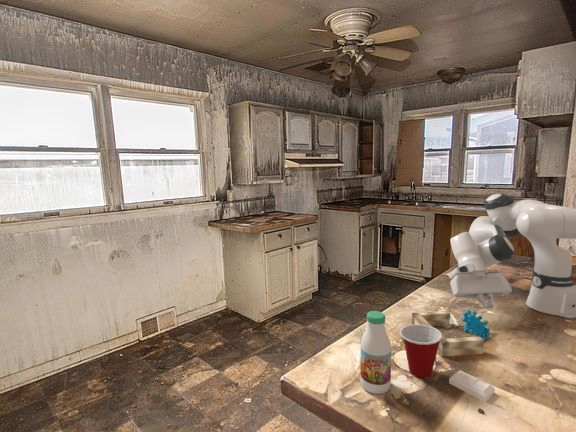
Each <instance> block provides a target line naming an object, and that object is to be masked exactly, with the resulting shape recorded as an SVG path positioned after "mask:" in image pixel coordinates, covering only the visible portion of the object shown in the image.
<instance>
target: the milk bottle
mask: <svg viewBox="0 0 576 432" xmlns="http://www.w3.org/2000/svg"><path fill="white" fill-rule="evenodd" d="M366 323H367V326H366V328H365V331H364V333H363V335H362V338H361V340H360V341H361V342H360V356H359V357H360V361H359V362H360V363H359V364H360V371H359V372H360V374H359V375H360V377H359V378H360V379H359V380H360V385H361V386H362V388H363V389H364V390H365V391H366V392H368V393H370V394H375V395H383V394H386V393H387V392H388V391H390V388H391V382H392V380H391V378H392V375H391V374H392V366H391V365H392V346H391V340H390V338H389V335H388V334H387V331H386V327H385V325H386V314H385V313H384V312H381V311H378V310H371V311H369V312H367V313H366Z"/></svg>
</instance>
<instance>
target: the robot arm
mask: <svg viewBox="0 0 576 432" xmlns="http://www.w3.org/2000/svg"><path fill="white" fill-rule="evenodd" d="M483 205H484V206H483V207H484V209H485V210H486V213H487V215H481V216H478V217H477V218H475V219H474V220H473V221H472V223H471V225H470V226H469V230H468V231H462V232H459V233H457V234H455V235H453V236H452V237H450V239H449V240H450V247H451V250H452V253H453V255H454V258H455V260H456V261H457V265H458V267H456V268H454V269H453V270H452V271H451V272H449V275H448V278H449V279H450V282H449V283H450V288H451V292H452V294H453V296H454V297H455V298H470V297H471V298H473V297H475V298H476V300H477V301H478V302H479V303H480V304H482V307H483V308H484V309H493V308H494V307H495V305H494V296H506V295H509V294H510V293H512V292H513V291H512V290H513V289H512V286H511V284H510V283H509V281H508V279H507V278H506V276H505V275H504V273H503V272H501V271H499V270H497V269H494V270H491V269H490V270H489V269H488V267H492V266H494V265H497V264H499V263H500V264H501V263H503V262H506V261H510V260H512V259H513V257H514V255H515V248H514V245H513V244H512V242H511V241H510V240H509V239H511V238H514V237H517V236H520V235H522V236H523V237H525V238H526V239H527V240H528V241H529V242H530V244H531V246H532V249H533V251H534V263H533V265H534V268H533V270H532V272H531V281H532V282H531V285H530V289H529V294H528V296H527V299H526V302H525V304H526V306H527V307H528V308H531V309H533V310H535V311H538V312H540V313H544V314H548V315H552V316H558V317H562V318H566V319H574V318H575V319H576V285H575V282H574V281H576V275H572V269H573V268H572V266H573V256H572V253H571V252H570V251H568V250H567V249H565V248H563V247H561V246H558V244H557V239H566V240H567V239H569V240H572V239H573V240H575V239H576V208H573V207H568V206H562V205H555V204H549V203H545V202H543V201H540V200H536V199H531V198H530V199H529V198H528V199H521V200H519V201H515V197H513V196H509V195H507V194H505V193H501V192H500V193H495V194H492V195H490V196H488V197H487V198H485V200H484V201H483ZM484 297H485V298H486V299H488V300H485V298H484Z"/></svg>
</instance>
